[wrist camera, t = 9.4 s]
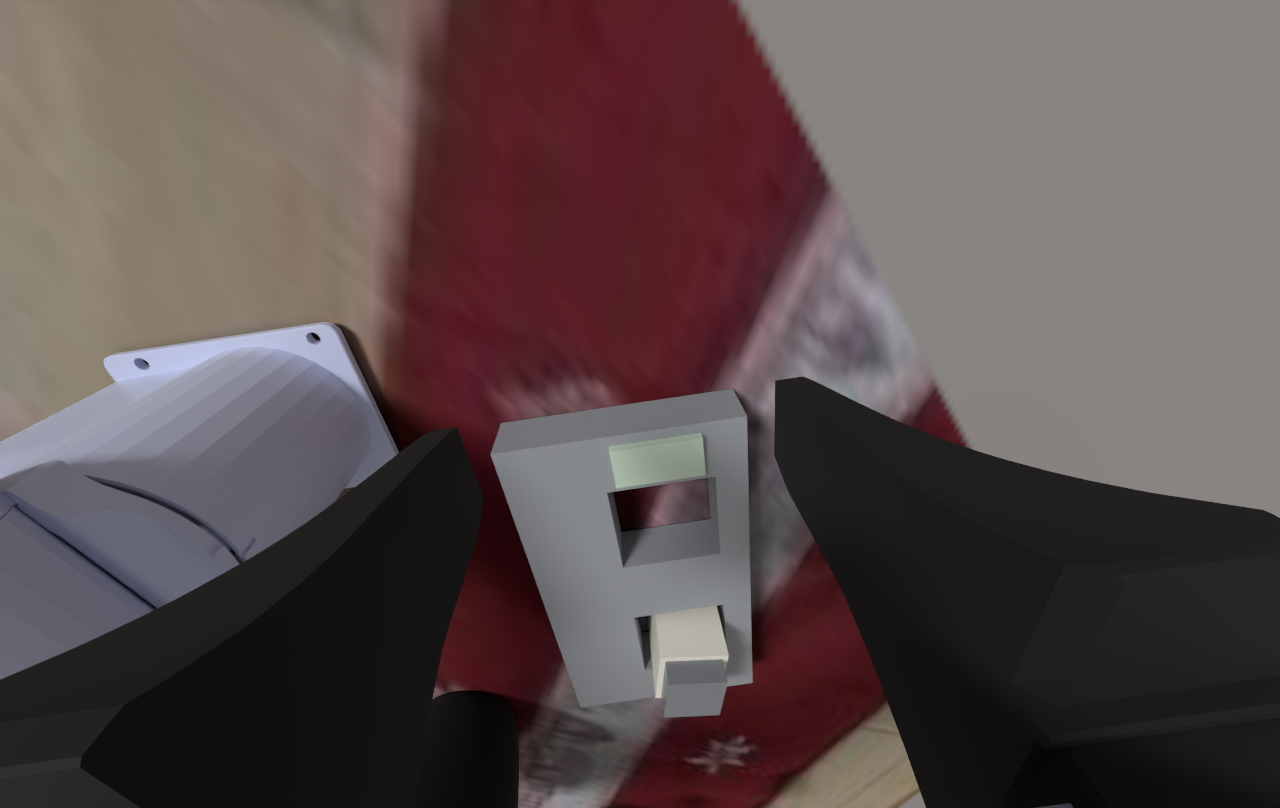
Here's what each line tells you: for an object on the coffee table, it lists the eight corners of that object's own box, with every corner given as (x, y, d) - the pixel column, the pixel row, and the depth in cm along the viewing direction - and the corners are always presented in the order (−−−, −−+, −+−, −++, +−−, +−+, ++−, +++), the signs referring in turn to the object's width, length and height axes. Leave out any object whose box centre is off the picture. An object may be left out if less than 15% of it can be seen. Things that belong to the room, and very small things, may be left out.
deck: (582, 669, 32) (580, 714, 30) (501, 423, 22) (488, 460, 20) (742, 645, 32) (754, 689, 30) (733, 388, 22) (749, 421, 20)
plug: (647, 620, 30) (657, 721, 25) (651, 581, 29) (662, 681, 23) (703, 618, 31) (724, 717, 26) (710, 580, 29) (734, 678, 24)
